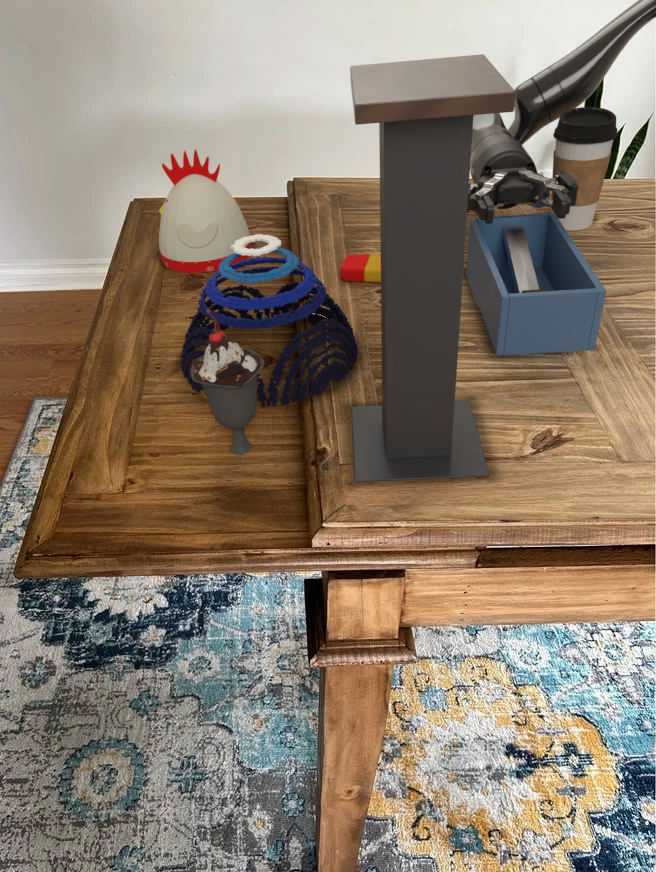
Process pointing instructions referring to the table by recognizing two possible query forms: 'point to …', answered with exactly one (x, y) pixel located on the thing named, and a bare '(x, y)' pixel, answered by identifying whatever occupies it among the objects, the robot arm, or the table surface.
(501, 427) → the table surface
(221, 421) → the sundae
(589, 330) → the bin
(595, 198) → the coffee cup
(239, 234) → the kitchen timer
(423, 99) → the shelf stand
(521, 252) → the long rectangular bar
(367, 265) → the popsicle
